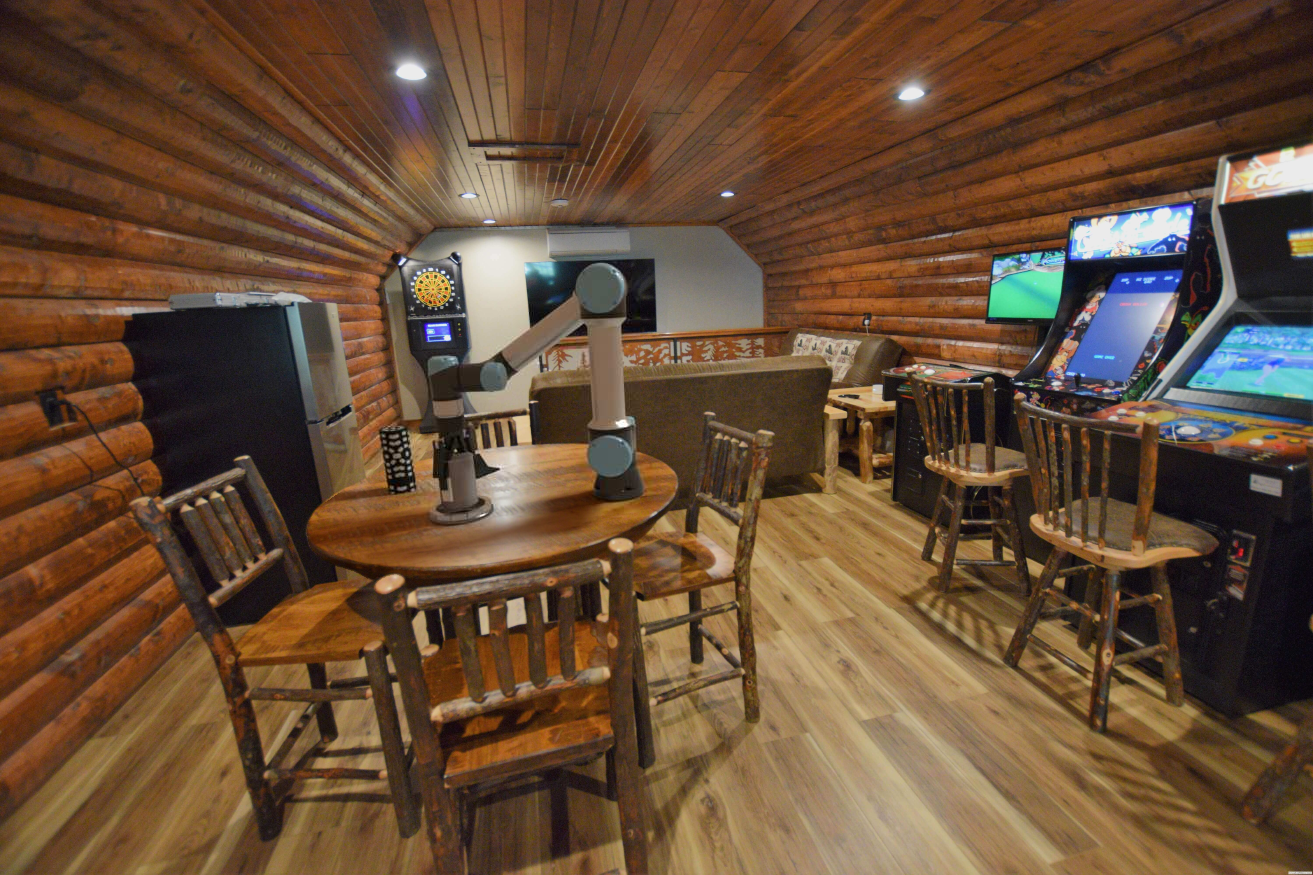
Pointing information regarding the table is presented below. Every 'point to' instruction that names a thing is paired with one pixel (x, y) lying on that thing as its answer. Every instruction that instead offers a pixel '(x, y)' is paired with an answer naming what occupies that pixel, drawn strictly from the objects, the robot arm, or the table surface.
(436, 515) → the ring plate
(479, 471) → the handheld gaming console
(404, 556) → the table surface
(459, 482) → the pillar candle
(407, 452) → the white-spotted black cylinder
